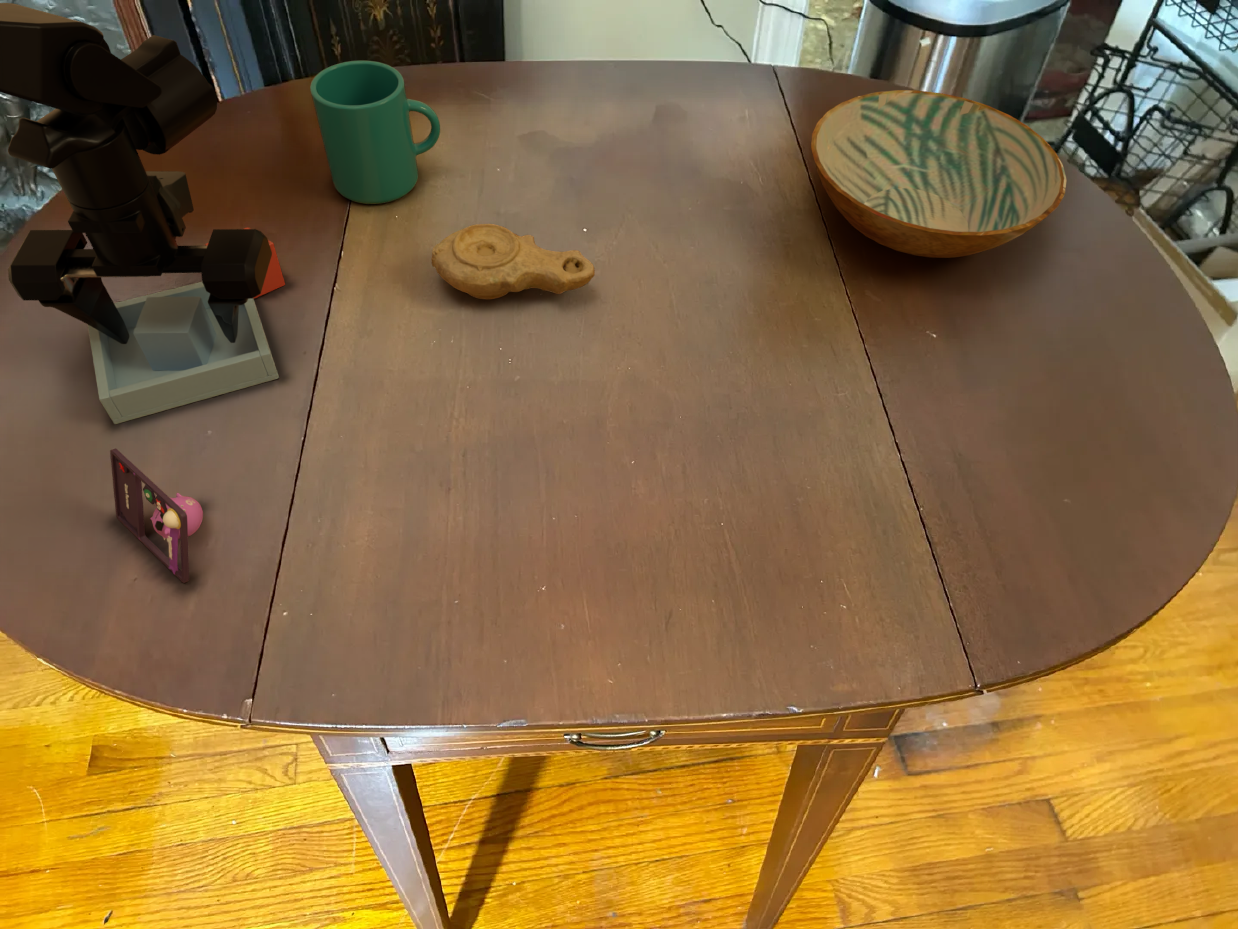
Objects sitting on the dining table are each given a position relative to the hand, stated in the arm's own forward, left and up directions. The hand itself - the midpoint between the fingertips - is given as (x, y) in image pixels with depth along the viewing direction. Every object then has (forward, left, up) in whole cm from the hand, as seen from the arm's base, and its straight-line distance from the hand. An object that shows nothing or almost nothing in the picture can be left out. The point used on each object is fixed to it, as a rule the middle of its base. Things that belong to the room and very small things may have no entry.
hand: (180, 339), depth 79 cm
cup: (+24, +19, -2) cm, 31 cm away
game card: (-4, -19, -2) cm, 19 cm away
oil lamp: (+30, -2, -2) cm, 30 cm away
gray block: (0, 0, -1) cm, 1 cm away
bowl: (+73, -9, -2) cm, 74 cm away
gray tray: (0, 0, -2) cm, 2 cm away
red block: (+7, +8, -2) cm, 11 cm away
